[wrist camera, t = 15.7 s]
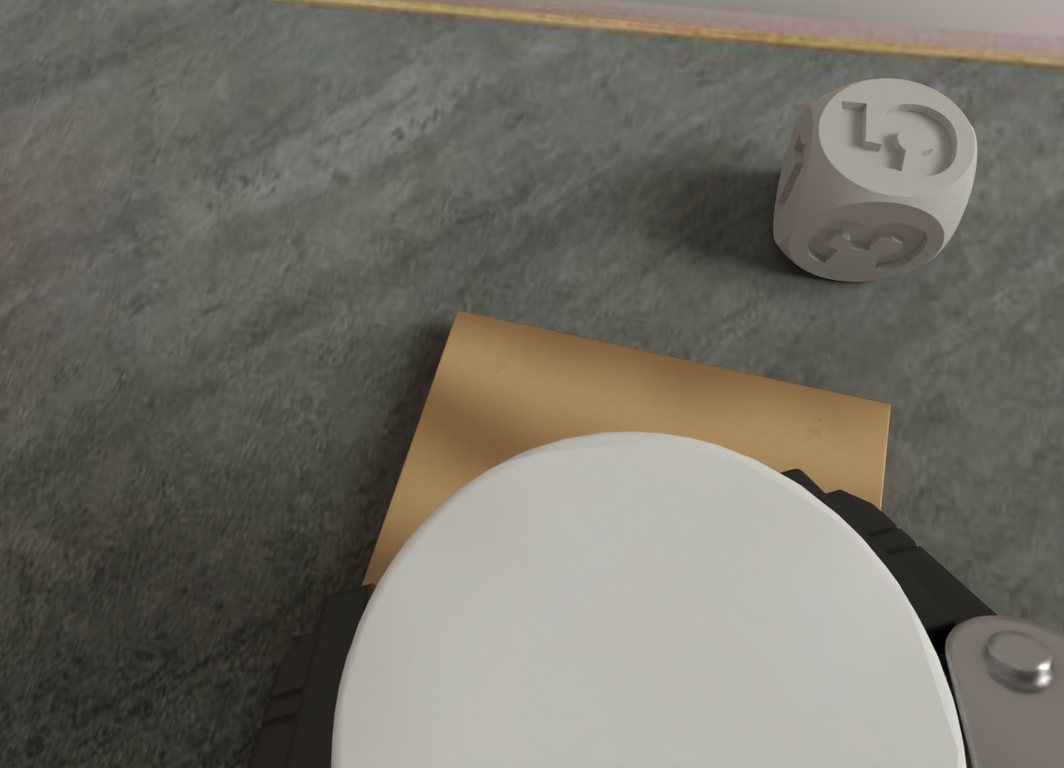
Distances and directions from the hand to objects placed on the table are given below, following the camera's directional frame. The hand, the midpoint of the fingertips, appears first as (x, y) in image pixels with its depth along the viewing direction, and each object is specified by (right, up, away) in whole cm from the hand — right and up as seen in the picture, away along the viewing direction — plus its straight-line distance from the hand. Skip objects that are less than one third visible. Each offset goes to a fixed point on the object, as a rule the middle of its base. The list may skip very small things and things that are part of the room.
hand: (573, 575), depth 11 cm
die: (+11, +9, +15) cm, 21 cm away
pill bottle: (+1, -3, +5) cm, 6 cm away
